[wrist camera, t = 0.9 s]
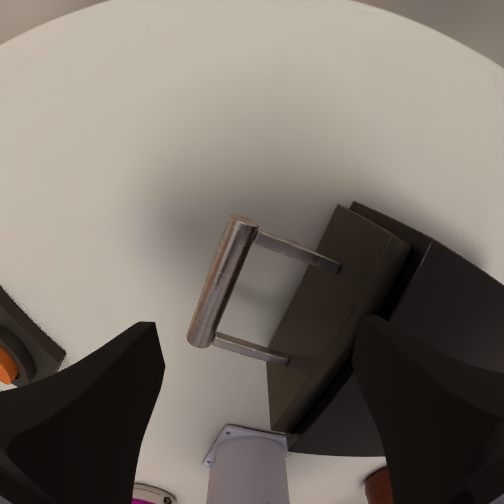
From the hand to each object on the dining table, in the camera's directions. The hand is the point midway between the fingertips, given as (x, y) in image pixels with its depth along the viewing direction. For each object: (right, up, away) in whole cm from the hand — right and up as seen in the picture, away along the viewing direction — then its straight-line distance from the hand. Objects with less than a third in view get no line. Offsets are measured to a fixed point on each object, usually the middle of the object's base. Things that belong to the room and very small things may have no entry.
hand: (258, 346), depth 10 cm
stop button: (-25, -8, +9) cm, 27 cm away
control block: (-25, -7, +12) cm, 28 cm away
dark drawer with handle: (+6, 0, +9) cm, 11 cm away
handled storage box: (+11, -2, +11) cm, 15 cm away
